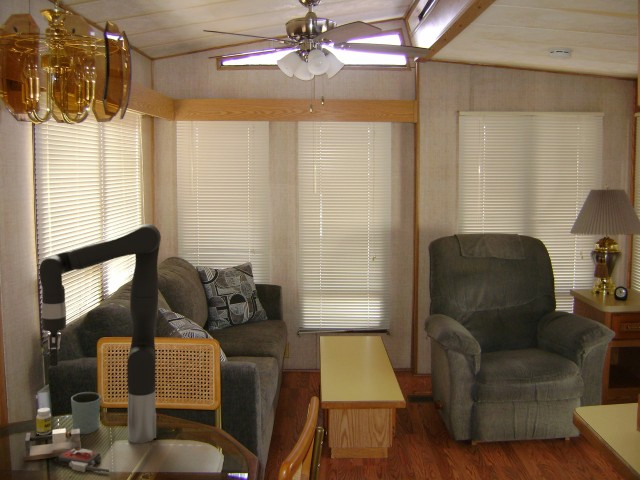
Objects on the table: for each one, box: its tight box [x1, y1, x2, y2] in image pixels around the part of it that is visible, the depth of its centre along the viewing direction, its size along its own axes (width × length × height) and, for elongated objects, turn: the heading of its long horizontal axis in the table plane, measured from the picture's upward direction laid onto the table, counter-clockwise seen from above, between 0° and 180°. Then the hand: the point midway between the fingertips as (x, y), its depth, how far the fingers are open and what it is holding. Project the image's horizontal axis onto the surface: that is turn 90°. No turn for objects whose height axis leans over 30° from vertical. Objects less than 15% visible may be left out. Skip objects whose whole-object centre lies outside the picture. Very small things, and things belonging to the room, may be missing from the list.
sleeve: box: [51, 427, 67, 444], centre depth 207 cm, size 4×3×3 cm
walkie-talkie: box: [54, 448, 110, 473], centre depth 200 cm, size 9×4×20 cm
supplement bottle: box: [35, 407, 52, 436], centre depth 221 cm, size 5×5×8 cm
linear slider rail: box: [23, 428, 82, 462], centre depth 207 cm, size 17×7×7 cm, turn 111°
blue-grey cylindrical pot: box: [70, 391, 102, 435], centre depth 225 cm, size 10×10×12 cm
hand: (54, 361), depth 212 cm, fingers open, 8 cm apart
